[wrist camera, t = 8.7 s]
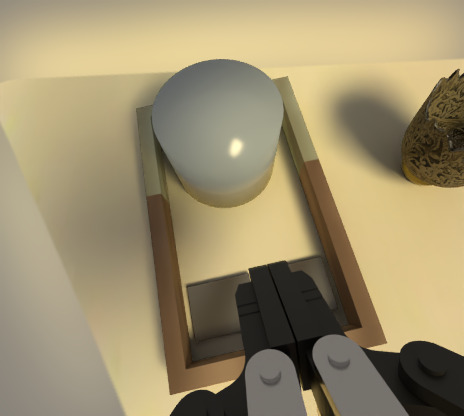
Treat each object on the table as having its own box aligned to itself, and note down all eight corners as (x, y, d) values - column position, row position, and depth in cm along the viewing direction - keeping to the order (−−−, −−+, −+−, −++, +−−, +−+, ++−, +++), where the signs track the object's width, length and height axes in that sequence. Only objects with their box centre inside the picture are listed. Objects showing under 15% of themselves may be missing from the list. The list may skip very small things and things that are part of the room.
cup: (378, 128, 26) (432, 57, 18) (461, 141, 25) (554, 70, 17) (374, 200, 23) (434, 151, 16) (465, 216, 23) (575, 173, 15)
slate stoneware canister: (251, 111, 27) (253, 44, 20) (289, 187, 24) (306, 139, 17) (166, 141, 27) (137, 82, 20) (194, 222, 24) (173, 188, 17)
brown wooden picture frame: (284, 95, 28) (287, 76, 25) (370, 338, 20) (387, 343, 18) (145, 125, 27) (136, 108, 25) (179, 384, 20) (170, 395, 17)
